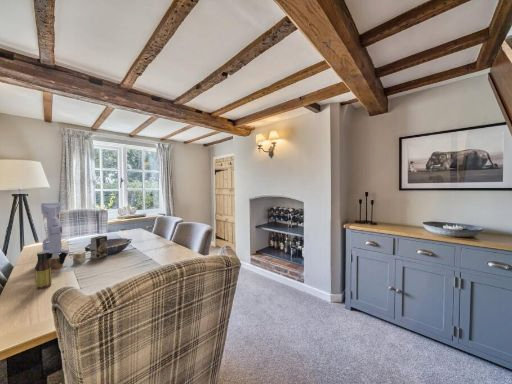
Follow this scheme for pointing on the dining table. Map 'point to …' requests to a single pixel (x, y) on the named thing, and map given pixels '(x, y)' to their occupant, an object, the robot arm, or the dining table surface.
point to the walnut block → (55, 263)
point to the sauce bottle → (42, 271)
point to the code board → (70, 266)
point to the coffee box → (98, 246)
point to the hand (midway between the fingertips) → (55, 263)
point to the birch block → (78, 257)
